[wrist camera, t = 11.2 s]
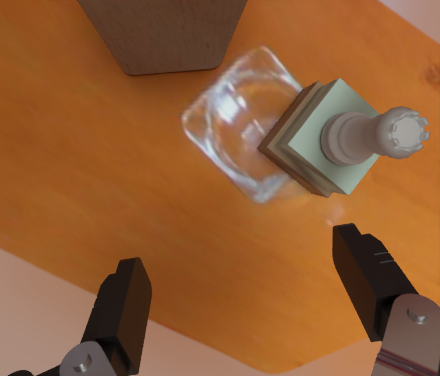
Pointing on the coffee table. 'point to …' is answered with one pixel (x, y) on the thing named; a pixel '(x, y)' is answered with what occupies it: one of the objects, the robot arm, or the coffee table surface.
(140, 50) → the block
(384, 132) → the rook chess piece
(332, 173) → the tower base
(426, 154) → the coffee table surface
